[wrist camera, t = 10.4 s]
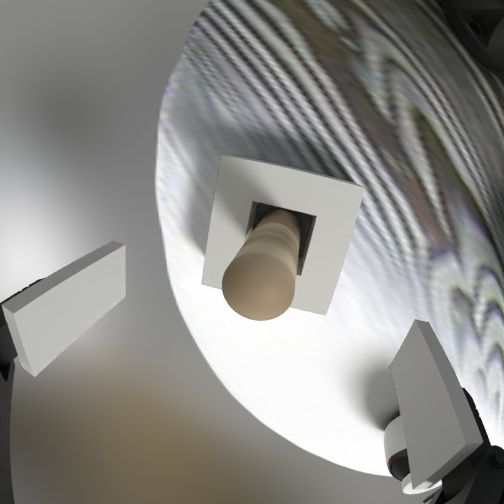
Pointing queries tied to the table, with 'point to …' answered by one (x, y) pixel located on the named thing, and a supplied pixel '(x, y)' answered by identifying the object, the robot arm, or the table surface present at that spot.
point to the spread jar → (399, 455)
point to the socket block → (290, 197)
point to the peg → (265, 268)
